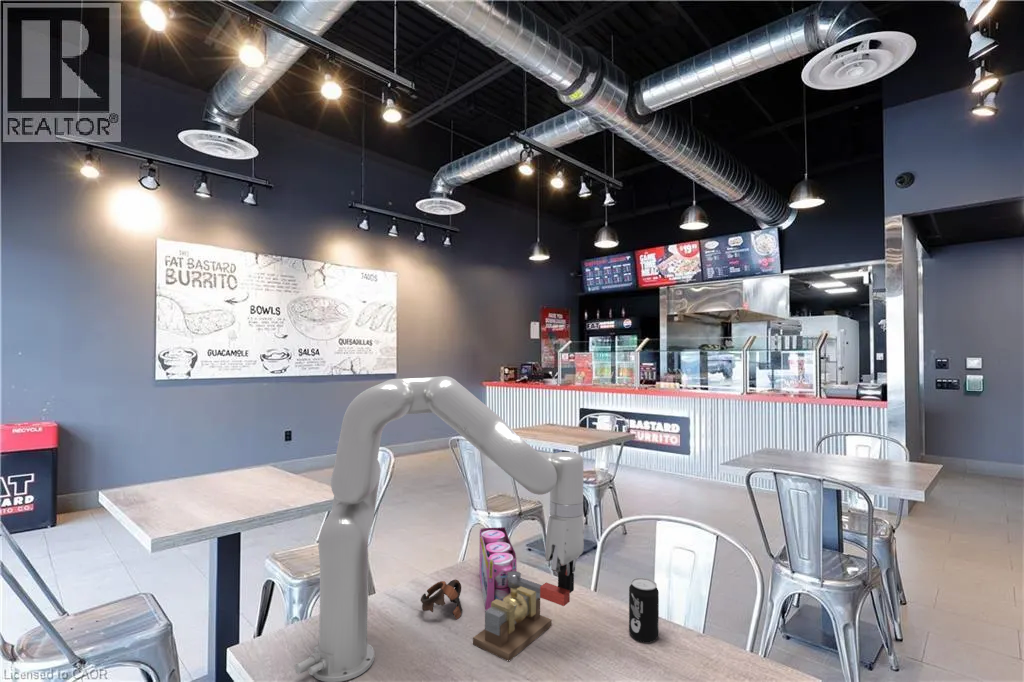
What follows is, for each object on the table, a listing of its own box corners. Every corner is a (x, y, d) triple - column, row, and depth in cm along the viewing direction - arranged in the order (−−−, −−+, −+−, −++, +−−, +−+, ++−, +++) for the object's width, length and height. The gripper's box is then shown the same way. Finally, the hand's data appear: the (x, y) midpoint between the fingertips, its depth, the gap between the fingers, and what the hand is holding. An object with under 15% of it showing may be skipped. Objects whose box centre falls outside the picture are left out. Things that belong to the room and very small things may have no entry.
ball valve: (503, 643, 103) (503, 604, 104) (480, 633, 107) (481, 595, 107) (544, 612, 116) (544, 577, 116) (522, 603, 120) (522, 570, 120)
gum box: (518, 616, 120) (518, 560, 120) (486, 618, 119) (487, 562, 119) (505, 572, 144) (505, 526, 144) (478, 574, 142) (479, 527, 143)
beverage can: (659, 646, 108) (659, 591, 108) (629, 642, 109) (629, 588, 109) (657, 629, 114) (657, 578, 115) (628, 626, 116) (628, 575, 116)
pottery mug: (454, 629, 115) (436, 599, 115) (426, 636, 119) (409, 607, 119) (477, 593, 125) (461, 566, 125) (450, 601, 130) (435, 574, 130)
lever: (505, 585, 112) (505, 574, 112) (512, 581, 114) (512, 569, 114) (563, 607, 102) (563, 594, 102) (570, 601, 105) (570, 589, 105)
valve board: (508, 661, 102) (509, 632, 102) (472, 644, 108) (473, 616, 108) (551, 625, 115) (551, 600, 116) (517, 612, 121) (518, 587, 122)
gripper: (568, 497, 118) (567, 574, 117) (534, 513, 106) (533, 598, 105) (596, 503, 114) (596, 583, 113) (564, 520, 102) (563, 609, 101)
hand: (565, 590), depth 109 cm, fingers closed
